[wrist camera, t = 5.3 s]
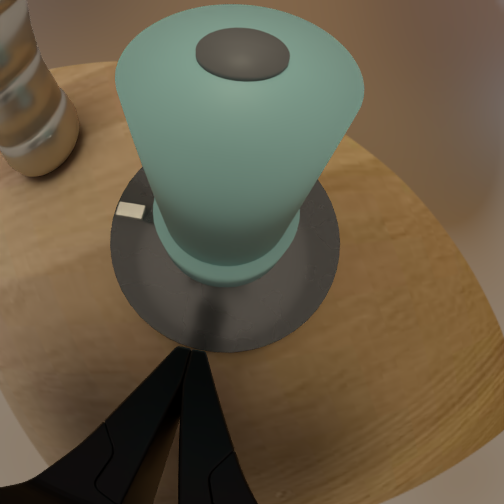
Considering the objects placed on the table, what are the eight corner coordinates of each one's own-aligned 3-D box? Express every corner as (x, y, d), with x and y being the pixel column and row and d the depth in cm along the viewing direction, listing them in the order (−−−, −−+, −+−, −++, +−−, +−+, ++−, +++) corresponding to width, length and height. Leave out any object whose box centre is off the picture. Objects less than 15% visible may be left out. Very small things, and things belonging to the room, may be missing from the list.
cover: (313, 234, 17) (427, 96, 6) (215, 315, 15) (211, 254, 4) (234, 149, 18) (257, -17, 7) (138, 214, 16) (59, 55, 5)
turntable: (372, 251, 18) (381, 245, 17) (211, 399, 15) (210, 404, 13) (239, 115, 20) (241, 103, 19) (80, 221, 16) (72, 213, 15)
